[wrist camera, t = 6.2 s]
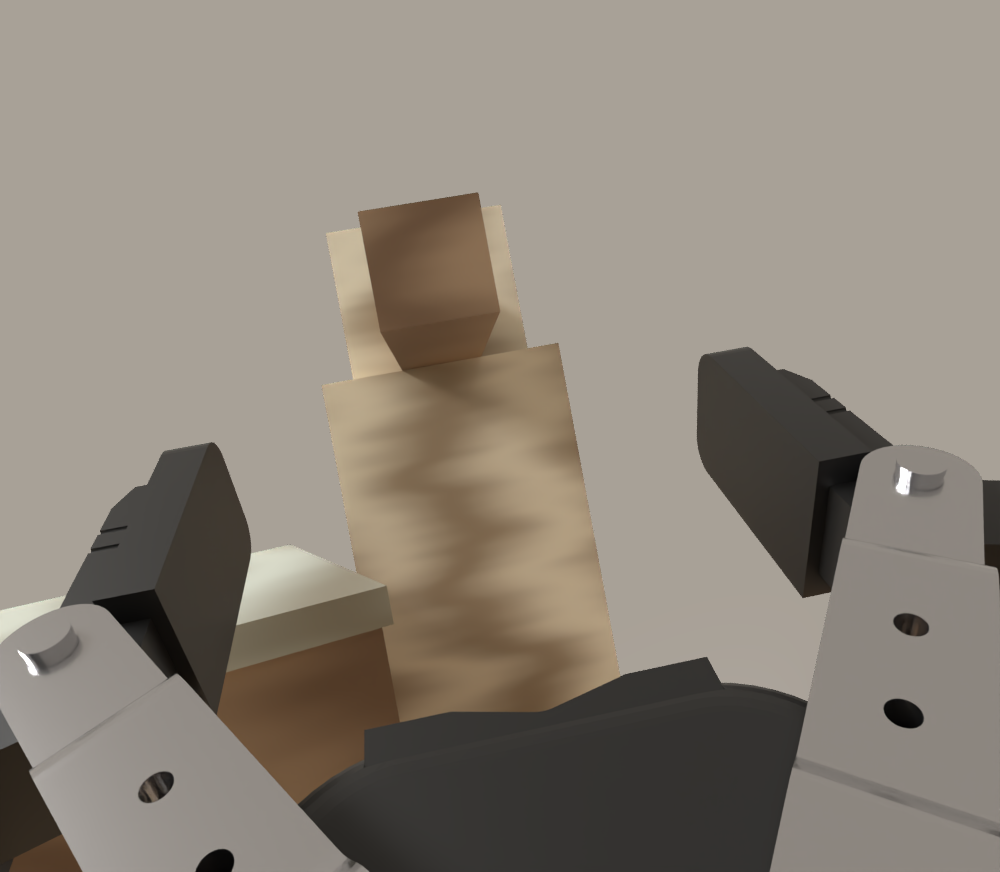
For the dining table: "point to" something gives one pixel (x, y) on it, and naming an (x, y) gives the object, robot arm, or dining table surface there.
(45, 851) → the cream-topped wooden box
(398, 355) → the brown tan long block
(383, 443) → the wooden block
